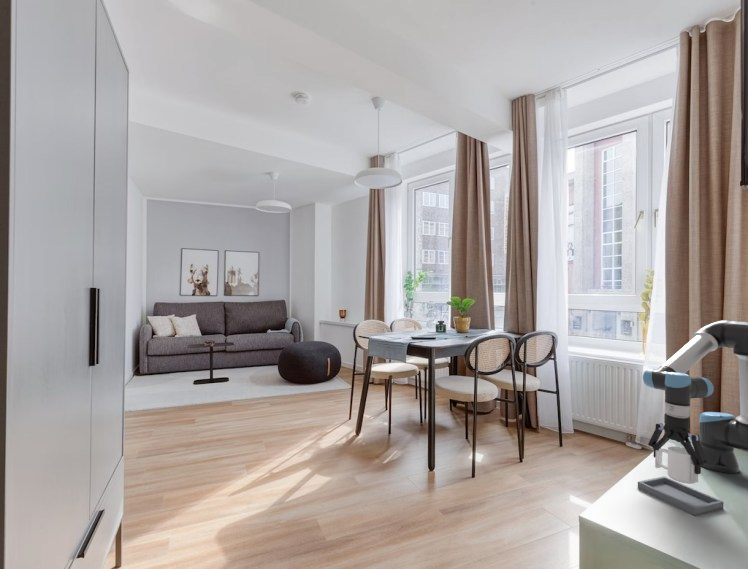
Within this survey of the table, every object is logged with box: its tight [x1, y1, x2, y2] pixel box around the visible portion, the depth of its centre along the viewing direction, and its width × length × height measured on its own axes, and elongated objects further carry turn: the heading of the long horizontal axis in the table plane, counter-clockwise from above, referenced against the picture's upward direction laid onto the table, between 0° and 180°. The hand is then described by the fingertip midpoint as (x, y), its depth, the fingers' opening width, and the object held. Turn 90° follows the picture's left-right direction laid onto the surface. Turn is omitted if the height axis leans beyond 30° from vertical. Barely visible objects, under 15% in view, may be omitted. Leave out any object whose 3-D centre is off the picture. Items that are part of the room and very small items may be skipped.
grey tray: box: [637, 476, 725, 517], centre depth 145 cm, size 15×20×2 cm
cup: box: [657, 446, 694, 485], centre depth 147 cm, size 8×12×10 cm
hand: (675, 474), depth 147 cm, fingers closed on cup, 12 cm apart
